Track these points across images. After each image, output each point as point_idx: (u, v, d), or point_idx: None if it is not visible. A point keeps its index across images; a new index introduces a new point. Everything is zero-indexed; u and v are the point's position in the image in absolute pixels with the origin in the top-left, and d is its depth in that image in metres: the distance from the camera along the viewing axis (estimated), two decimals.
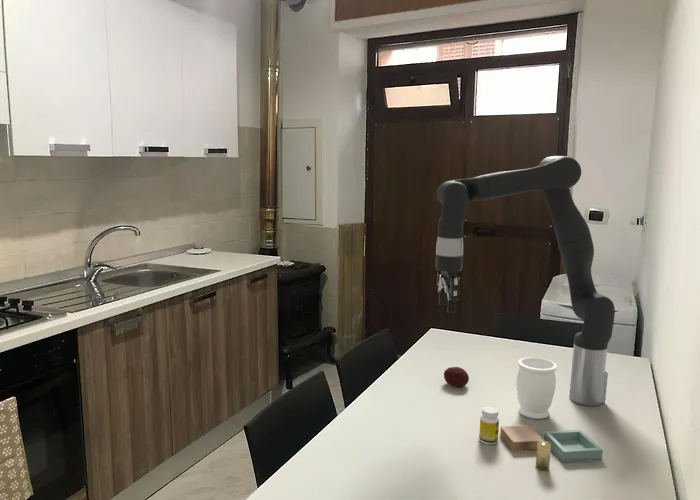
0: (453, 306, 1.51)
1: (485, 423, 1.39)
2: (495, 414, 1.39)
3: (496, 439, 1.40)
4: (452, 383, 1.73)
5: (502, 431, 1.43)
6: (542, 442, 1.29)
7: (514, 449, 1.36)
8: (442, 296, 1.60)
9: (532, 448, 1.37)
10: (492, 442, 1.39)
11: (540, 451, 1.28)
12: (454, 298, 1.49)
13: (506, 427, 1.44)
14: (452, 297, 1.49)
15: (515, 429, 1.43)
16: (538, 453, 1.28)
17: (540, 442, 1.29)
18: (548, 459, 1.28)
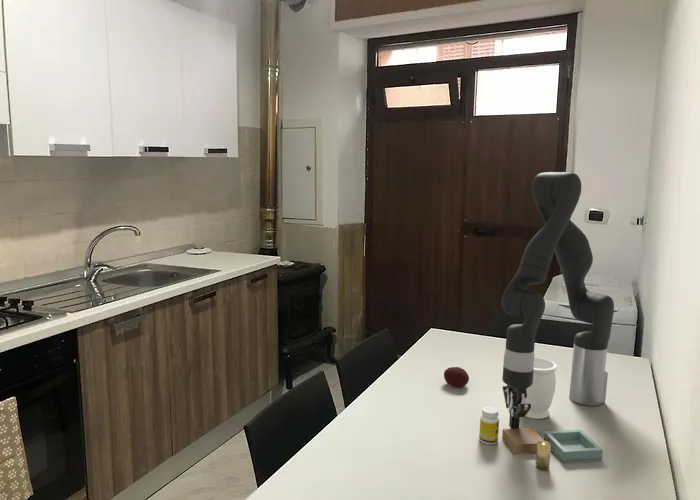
0: (517, 422, 1.43)
1: (485, 423, 1.39)
2: (495, 414, 1.39)
3: (496, 439, 1.40)
4: (452, 383, 1.73)
5: (504, 433, 1.42)
6: (542, 442, 1.29)
7: (516, 451, 1.35)
8: None
9: (534, 450, 1.36)
10: (492, 442, 1.39)
11: (540, 451, 1.28)
12: (519, 416, 1.41)
13: (508, 429, 1.42)
14: (517, 416, 1.41)
15: (517, 431, 1.42)
16: (538, 453, 1.28)
17: (540, 442, 1.29)
18: (548, 459, 1.28)
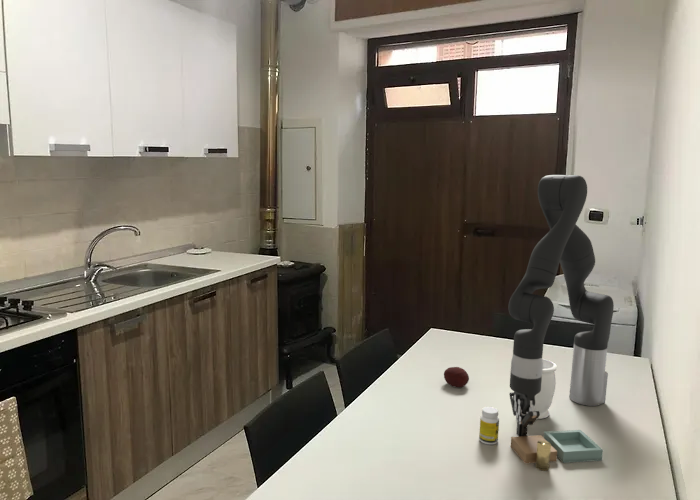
0: (525, 430, 1.39)
1: (485, 423, 1.39)
2: (495, 414, 1.39)
3: (496, 439, 1.40)
4: (452, 383, 1.73)
5: (513, 441, 1.38)
6: (542, 442, 1.29)
7: (526, 461, 1.31)
8: None
9: None
10: (492, 442, 1.39)
11: (540, 451, 1.28)
12: (527, 424, 1.37)
13: (517, 437, 1.38)
14: (525, 424, 1.37)
15: (526, 439, 1.38)
16: (538, 453, 1.28)
17: (540, 442, 1.29)
18: (548, 459, 1.28)
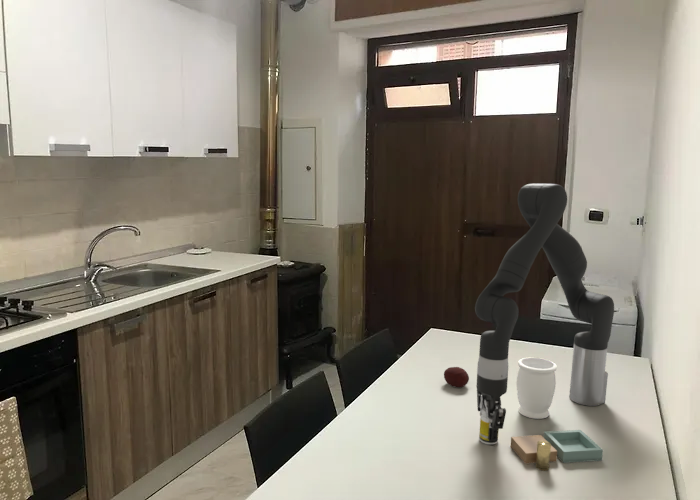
0: (495, 434, 1.38)
1: (485, 423, 1.39)
2: None
3: None
4: (452, 383, 1.73)
5: (513, 441, 1.38)
6: (542, 442, 1.29)
7: (527, 461, 1.31)
8: None
9: None
10: (492, 442, 1.39)
11: (540, 451, 1.28)
12: (497, 428, 1.35)
13: (517, 437, 1.38)
14: (494, 427, 1.35)
15: (526, 439, 1.38)
16: (538, 453, 1.28)
17: (540, 442, 1.29)
18: (548, 459, 1.28)
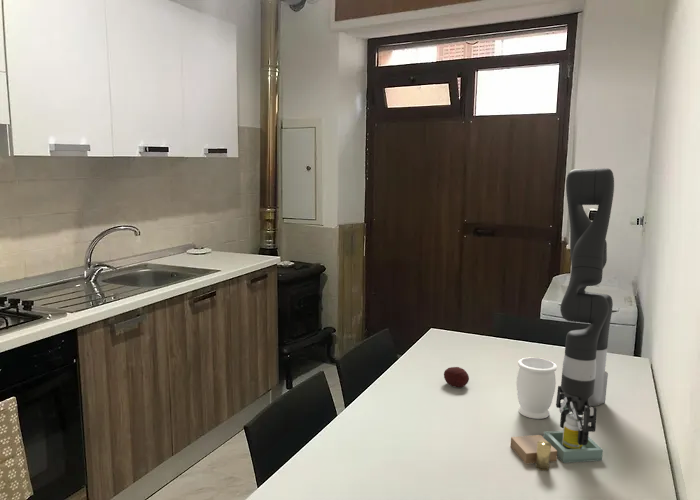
0: (585, 437, 1.31)
1: (571, 431, 1.35)
2: None
3: (581, 447, 1.35)
4: (452, 383, 1.73)
5: (513, 442, 1.37)
6: (542, 442, 1.29)
7: (527, 461, 1.31)
8: (565, 418, 1.40)
9: None
10: None
11: (540, 451, 1.28)
12: (589, 430, 1.29)
13: (517, 437, 1.38)
14: (587, 429, 1.29)
15: (526, 439, 1.38)
16: (538, 453, 1.28)
17: (540, 442, 1.29)
18: (548, 459, 1.28)
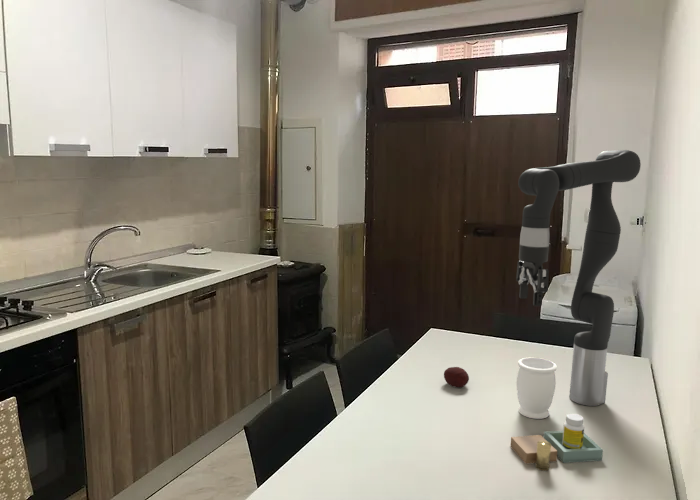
0: (540, 298, 1.46)
1: (571, 431, 1.35)
2: (581, 421, 1.34)
3: (581, 447, 1.35)
4: (452, 383, 1.73)
5: (513, 442, 1.37)
6: (542, 442, 1.29)
7: (527, 461, 1.31)
8: (524, 288, 1.55)
9: None
10: None
11: (540, 451, 1.28)
12: (542, 290, 1.43)
13: (517, 437, 1.38)
14: (540, 289, 1.43)
15: (526, 439, 1.38)
16: (538, 453, 1.28)
17: (540, 442, 1.29)
18: (548, 459, 1.28)
